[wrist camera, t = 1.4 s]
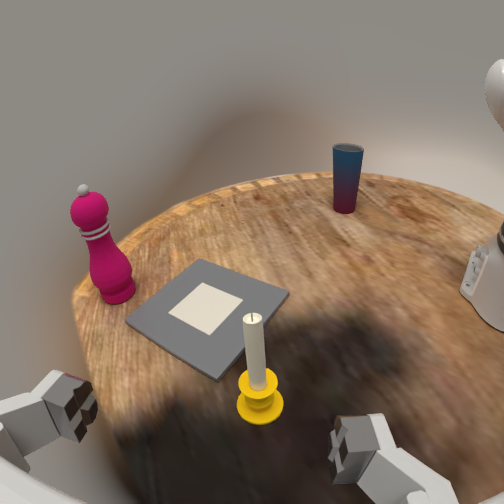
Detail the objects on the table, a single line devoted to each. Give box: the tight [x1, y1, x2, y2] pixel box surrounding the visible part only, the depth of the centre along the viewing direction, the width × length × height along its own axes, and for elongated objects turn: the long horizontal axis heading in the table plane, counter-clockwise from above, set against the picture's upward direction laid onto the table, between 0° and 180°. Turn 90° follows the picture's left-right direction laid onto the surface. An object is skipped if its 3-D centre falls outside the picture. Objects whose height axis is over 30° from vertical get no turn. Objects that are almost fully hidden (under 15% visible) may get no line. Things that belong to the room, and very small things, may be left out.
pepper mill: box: [70, 184, 135, 304], centre depth 43 cm, size 7×7×20 cm
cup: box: [333, 143, 364, 214], centre depth 65 cm, size 7×7×15 cm
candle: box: [237, 313, 283, 425], centre depth 27 cm, size 5×5×16 cm
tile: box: [124, 258, 289, 382], centre depth 44 cm, size 18×18×1 cm
